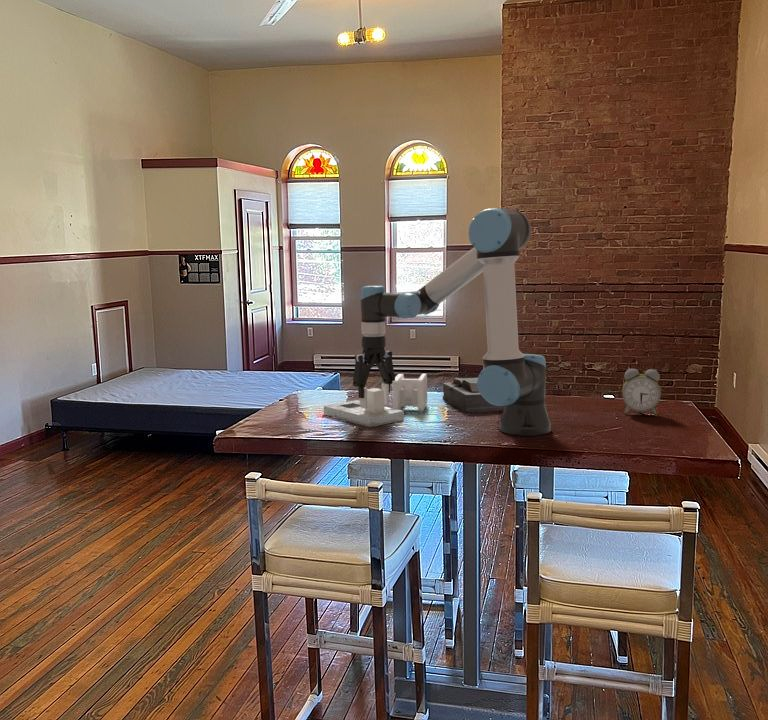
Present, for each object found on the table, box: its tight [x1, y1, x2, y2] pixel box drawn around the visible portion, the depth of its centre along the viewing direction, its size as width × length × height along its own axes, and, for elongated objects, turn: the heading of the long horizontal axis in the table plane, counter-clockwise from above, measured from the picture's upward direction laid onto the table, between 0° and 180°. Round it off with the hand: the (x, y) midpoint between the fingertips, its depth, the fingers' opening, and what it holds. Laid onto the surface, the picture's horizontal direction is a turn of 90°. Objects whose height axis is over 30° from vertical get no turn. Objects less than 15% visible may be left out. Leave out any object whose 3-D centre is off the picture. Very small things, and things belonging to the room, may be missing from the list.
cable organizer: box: [390, 373, 428, 413], centre depth 248 cm, size 15×11×12 cm
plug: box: [365, 387, 386, 414], centre depth 233 cm, size 6×4×10 cm
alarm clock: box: [621, 368, 662, 417], centre depth 235 cm, size 12×7×15 cm, turn 72°
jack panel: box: [323, 399, 405, 428], centre depth 238 cm, size 24×14×3 cm, turn 41°
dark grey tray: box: [442, 377, 505, 414], centre depth 255 cm, size 23×27×10 cm
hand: (374, 405), depth 233 cm, fingers open, 8 cm apart
